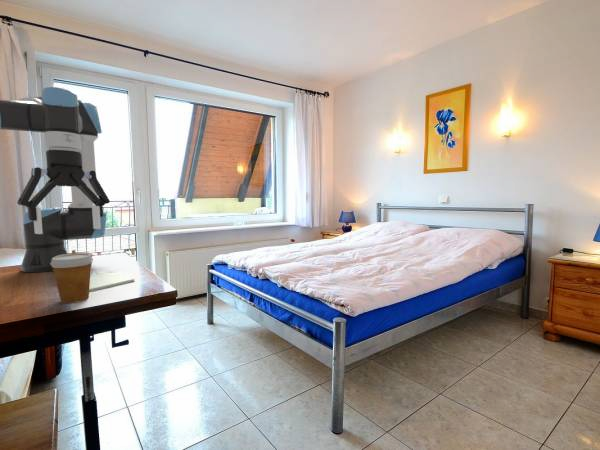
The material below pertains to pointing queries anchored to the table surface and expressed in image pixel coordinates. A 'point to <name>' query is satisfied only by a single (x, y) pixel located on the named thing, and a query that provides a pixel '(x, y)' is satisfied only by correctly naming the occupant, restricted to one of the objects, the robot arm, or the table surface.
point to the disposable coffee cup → (72, 276)
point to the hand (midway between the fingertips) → (69, 231)
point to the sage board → (107, 281)
